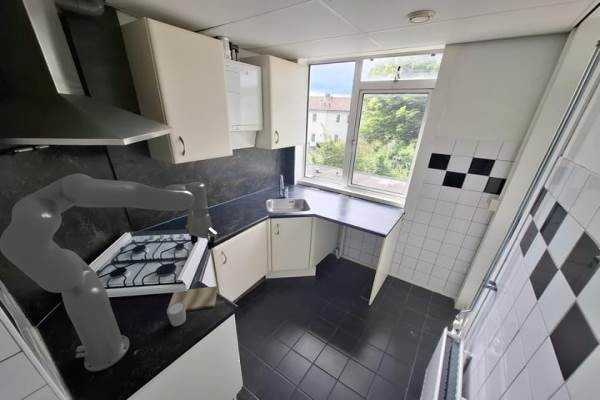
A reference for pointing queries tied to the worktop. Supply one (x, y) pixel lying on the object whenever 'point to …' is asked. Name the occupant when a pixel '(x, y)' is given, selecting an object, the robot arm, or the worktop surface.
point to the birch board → (196, 298)
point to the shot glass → (177, 313)
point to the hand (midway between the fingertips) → (203, 245)
